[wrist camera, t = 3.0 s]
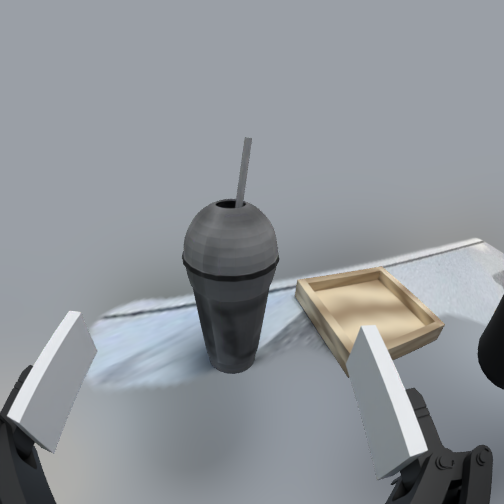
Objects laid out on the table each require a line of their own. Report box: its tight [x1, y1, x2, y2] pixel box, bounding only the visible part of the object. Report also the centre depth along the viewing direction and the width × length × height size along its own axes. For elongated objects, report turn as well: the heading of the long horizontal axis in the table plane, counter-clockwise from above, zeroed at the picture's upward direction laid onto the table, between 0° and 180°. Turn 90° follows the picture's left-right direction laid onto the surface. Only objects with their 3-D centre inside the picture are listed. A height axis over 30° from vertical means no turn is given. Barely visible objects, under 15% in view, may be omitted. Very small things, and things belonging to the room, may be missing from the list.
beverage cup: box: [182, 137, 279, 374], centre depth 21 cm, size 7×7×20 cm
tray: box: [295, 266, 445, 378], centre depth 31 cm, size 14×14×2 cm
